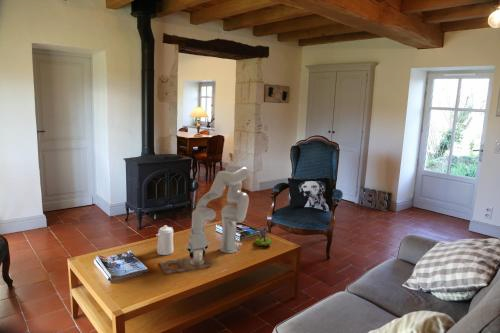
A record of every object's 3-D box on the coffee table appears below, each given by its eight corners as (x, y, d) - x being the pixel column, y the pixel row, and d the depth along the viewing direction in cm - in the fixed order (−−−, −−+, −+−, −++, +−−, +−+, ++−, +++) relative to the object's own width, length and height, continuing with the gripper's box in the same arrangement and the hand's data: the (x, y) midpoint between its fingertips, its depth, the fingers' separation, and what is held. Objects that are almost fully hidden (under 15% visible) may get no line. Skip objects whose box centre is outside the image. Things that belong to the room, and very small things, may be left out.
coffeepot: (148, 259, 230) (148, 231, 227) (165, 244, 254) (165, 219, 251) (164, 261, 228) (164, 233, 225) (179, 246, 252) (180, 220, 249)
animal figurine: (250, 243, 263) (251, 224, 260) (262, 240, 271) (263, 221, 269) (263, 250, 253) (264, 229, 250) (276, 246, 261) (277, 226, 259)
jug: (190, 258, 230) (190, 246, 228) (200, 256, 233) (200, 245, 231) (195, 265, 220) (195, 253, 219) (205, 263, 223) (206, 251, 222)
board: (202, 256, 237) (202, 255, 237) (210, 267, 223) (210, 265, 223) (159, 263, 225) (159, 261, 225) (165, 274, 211) (165, 272, 211)
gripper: (186, 233, 217) (185, 261, 220) (213, 230, 224) (212, 257, 227) (182, 229, 223) (182, 256, 226) (209, 226, 231) (208, 252, 234)
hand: (197, 256), depth 227 cm, fingers open, 7 cm apart
